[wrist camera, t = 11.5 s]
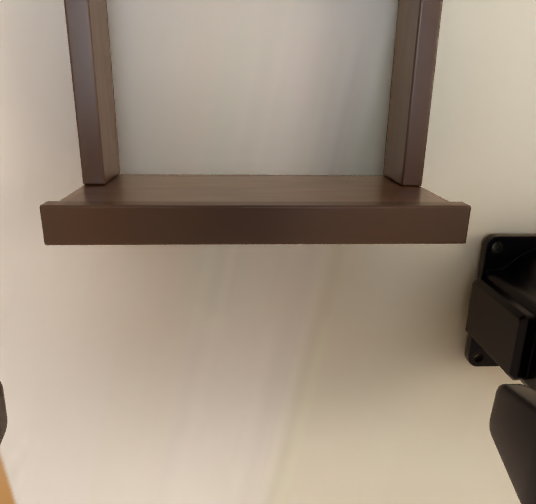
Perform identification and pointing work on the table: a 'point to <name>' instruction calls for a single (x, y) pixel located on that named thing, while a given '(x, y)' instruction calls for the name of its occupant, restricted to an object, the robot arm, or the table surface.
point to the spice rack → (253, 186)
